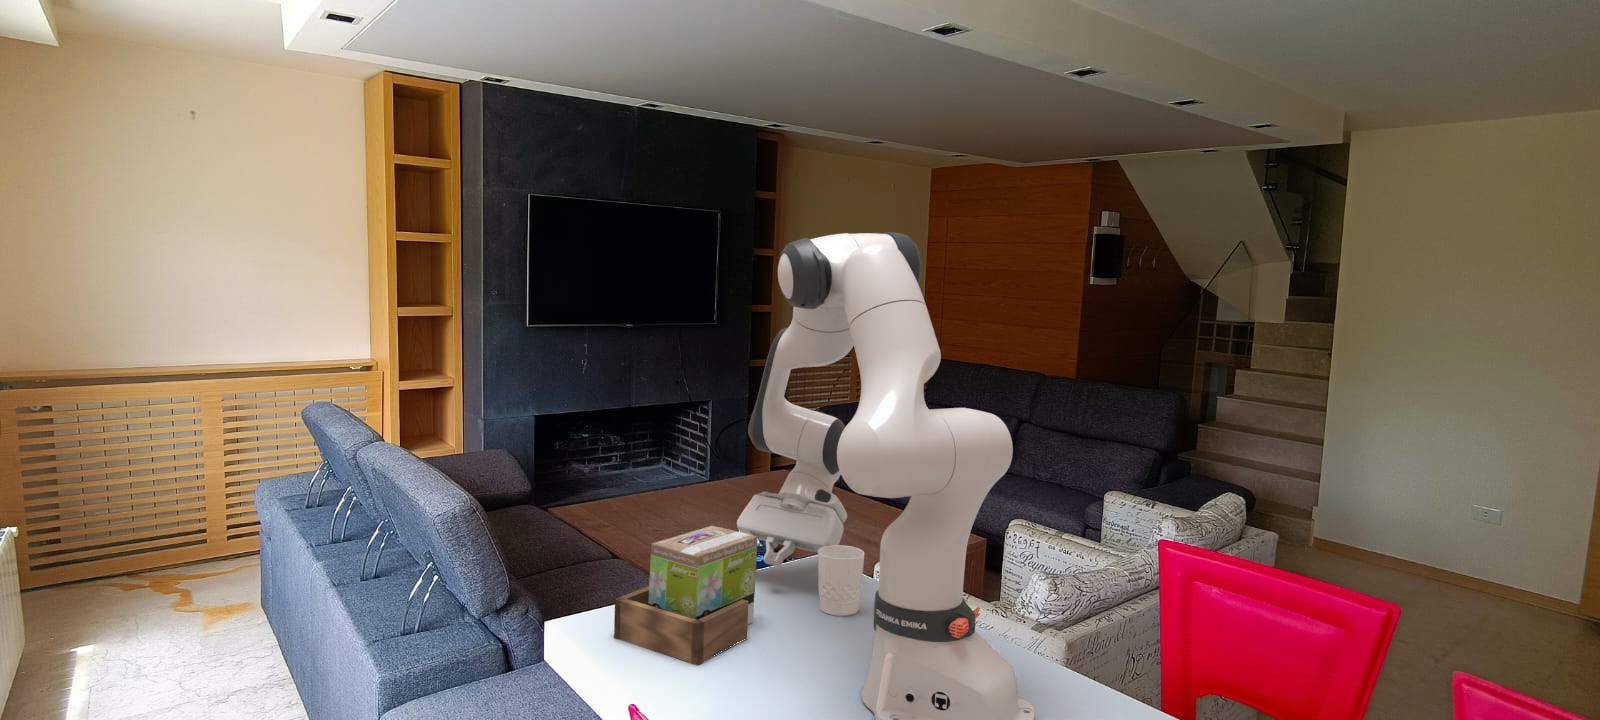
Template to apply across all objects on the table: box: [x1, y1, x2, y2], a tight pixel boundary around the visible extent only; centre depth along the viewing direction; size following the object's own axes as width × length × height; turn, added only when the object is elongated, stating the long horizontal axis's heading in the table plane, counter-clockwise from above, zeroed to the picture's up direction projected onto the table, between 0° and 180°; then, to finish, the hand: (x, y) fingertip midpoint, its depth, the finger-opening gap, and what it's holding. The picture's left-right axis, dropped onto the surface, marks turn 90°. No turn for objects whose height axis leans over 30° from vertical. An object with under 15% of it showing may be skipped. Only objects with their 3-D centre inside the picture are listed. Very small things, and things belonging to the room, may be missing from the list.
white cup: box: [817, 544, 865, 617], centre depth 148 cm, size 8×8×10 cm
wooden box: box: [613, 585, 749, 666], centre depth 134 cm, size 16×12×6 cm
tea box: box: [648, 525, 758, 625], centre depth 137 cm, size 15×10×15 cm
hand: (771, 563), depth 154 cm, fingers closed
